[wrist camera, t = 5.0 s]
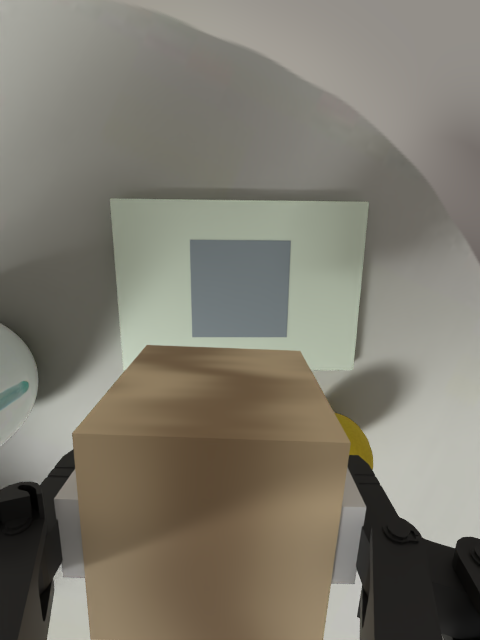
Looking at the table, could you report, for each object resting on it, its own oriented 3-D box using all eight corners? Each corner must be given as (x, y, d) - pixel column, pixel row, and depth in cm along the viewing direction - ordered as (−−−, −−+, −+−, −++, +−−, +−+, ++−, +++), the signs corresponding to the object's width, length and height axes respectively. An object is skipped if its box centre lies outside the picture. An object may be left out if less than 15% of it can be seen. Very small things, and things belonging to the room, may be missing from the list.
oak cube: (150, 476, 17) (90, 639, 10) (146, 344, 15) (72, 433, 8) (288, 480, 17) (322, 645, 10) (300, 350, 15) (351, 443, 8)
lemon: (337, 455, 33) (371, 523, 25) (285, 440, 32) (302, 505, 24) (360, 406, 31) (402, 461, 24) (305, 390, 31) (331, 441, 23)
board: (127, 365, 30) (123, 370, 29) (115, 200, 26) (109, 198, 25) (348, 364, 30) (353, 370, 29) (363, 203, 27) (369, 201, 26)
